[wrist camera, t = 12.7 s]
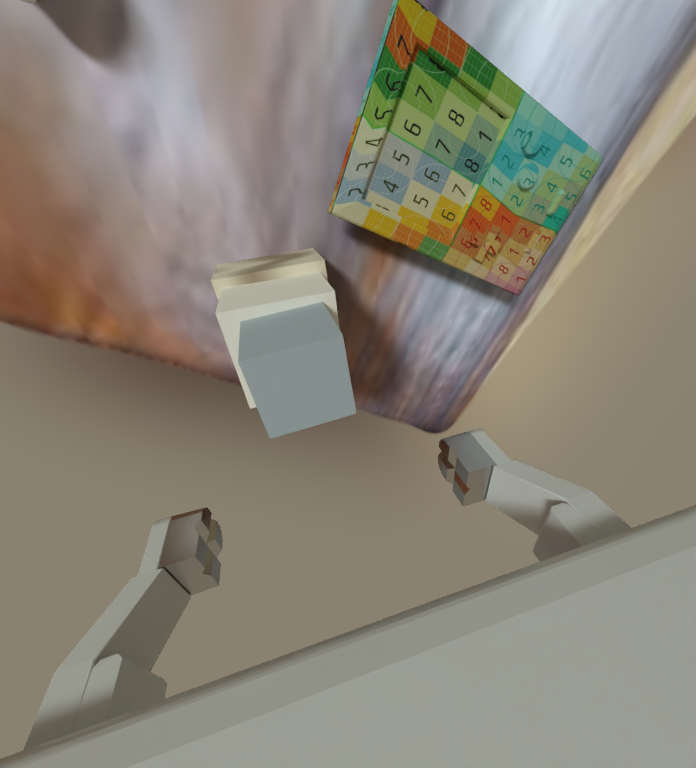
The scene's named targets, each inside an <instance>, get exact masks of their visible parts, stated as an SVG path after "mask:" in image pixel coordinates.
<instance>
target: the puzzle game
mask: <svg viewBox="0 0 696 768" xmlns="http://www.w3.org/2000/svg"><path fill="white" fill-rule="evenodd" d="M603 160H604V159H603V158H602V156H601V155H600V154H599V153H598V152H596V151H595V150H594V149H593V148H592V147H590V146H589V145H588V144H587V143H586V142H585V141H583V140H582V139H581V138H580V137H579V136H577V135H576V134H575V133H574V132H573V131H571V130H570V129H569V128H568V127H567V126H565V125H564V124H563V123H562V122H561V121H560V120H558V119H557V118H556V117H555V116H554V115H552V114H551V113H550V112H549V111H548V110H546V109H545V108H544V107H543V106H542V105H541V104H539V103H538V102H537V101H536V100H535V99H533V98H532V97H531V96H530V95H529V94H527V93H526V92H525V91H524V90H523V89H521V88H520V87H519V86H518V85H517V84H516V83H514V82H513V81H512V80H511V79H510V78H508V77H507V76H506V75H505V74H504V73H502V72H501V71H500V70H499V69H498V68H497V67H495V66H494V65H493V64H492V63H491V62H489V61H488V60H487V59H486V58H485V57H483V56H482V55H481V54H480V53H479V52H477V51H476V50H475V49H474V48H473V47H472V46H470V45H469V44H468V43H467V42H466V41H464V40H463V39H462V38H461V37H460V36H458V35H457V34H456V33H455V32H454V31H453V30H451V29H450V28H449V27H448V26H447V25H445V24H444V23H443V22H442V21H441V20H439V19H438V18H437V17H436V16H435V15H433V14H432V13H431V12H430V11H429V10H428V9H426V8H425V7H424V6H423V5H422V4H420V3H419V2H418V1H417V0H393V3H392V6H391V10H390V13H389V16H388V19H387V22H386V26H385V29H384V32H383V35H382V39H381V42H380V45H379V48H378V51H377V55H376V58H375V61H374V64H373V68H372V71H371V74H370V77H369V80H368V84H367V87H366V90H365V93H364V97H363V100H362V103H361V106H360V109H359V113H358V116H357V119H356V122H355V126H354V129H353V132H352V135H351V138H350V142H349V145H348V148H347V151H346V155H345V158H344V161H343V164H342V167H341V171H340V174H339V177H338V180H337V184H336V187H335V190H334V193H333V196H332V200H331V203H330V206H329V209H328V213H330V214H333V215H335V216H337V217H339V218H342V219H344V220H346V221H348V222H351V223H353V224H355V225H358V226H360V227H362V228H364V229H367V230H369V231H371V232H373V233H376V234H378V235H380V236H383V237H385V238H387V239H389V240H392V241H394V242H396V243H399V244H401V245H403V246H405V247H408V248H410V249H412V250H415V251H417V252H419V253H421V254H424V255H426V256H428V257H430V258H433V259H435V260H437V261H440V262H442V263H444V264H446V265H449V266H451V267H453V268H456V269H458V270H460V271H462V272H465V273H467V274H469V275H471V276H474V277H476V278H478V279H481V280H483V281H485V282H487V283H490V284H492V285H494V286H497V287H499V288H501V289H503V290H506V291H508V292H510V293H513V294H515V295H517V296H519V294H520V293H521V291H522V289H523V288H524V286H525V285H526V283H527V281H528V280H529V278H530V277H531V275H532V273H533V272H534V270H535V269H536V267H537V265H538V264H539V262H540V261H541V259H542V257H543V256H544V254H545V253H546V251H547V249H548V248H549V246H550V245H551V243H552V241H553V240H554V238H555V237H556V235H557V233H558V232H559V230H560V229H561V227H562V225H563V224H564V222H565V221H566V219H567V217H568V216H569V214H570V213H571V211H572V209H573V208H574V206H575V205H576V203H577V201H578V200H579V198H580V196H581V195H582V193H583V192H584V190H585V188H586V187H587V185H588V184H589V182H590V180H591V179H592V177H593V176H594V174H595V172H596V171H597V169H598V168H599V166H600V164H601V163H602V161H603Z"/></svg>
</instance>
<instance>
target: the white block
mask: <svg viewBox="0 0 696 768" xmlns="http://www.w3.org/2000/svg"><path fill="white" fill-rule="evenodd" d="M320 302H323V303H324V305H325V307H326V308H327V310H328V311H329V313H330V315H331V316H332V318H333V320H334V321H335V323H336V325H337V326H338V328H339V320H338V312H337V304H336V296H335V291H334V289H333V288H332V287H331V286H330V284H329V283H328V282H327V280H326V279H325V278H324V277H323V275H322V274H321V273H320V272H314V273H308V274H302V275H297V276H291V277H285V278H280V279H274V280H268V281H263V282H257V283H251V284H246V285H240V286H234V287H228V288H223V289H221V293H220V297H219V302H218V306H217V310H216V316H217V319H218V321H219V324H220V327H221V330H222V332H223V335H224V338H225V341H226V343H227V346H228V349H229V352H230V354H231V357H232V360H233V363H234V365H235V368H236V371H237V374H238V376H239V379H240V382H241V385H242V387H243V390H244V393H245V396H246V398H247V401H248V404H249V407H250V408H255V407H256V404H255V402H254V399H253V397H252V394H251V392H250V390H249V387H248V385H247V382H246V380H245V378H244V375H243V373H242V370H241V368H240V366H239V363H238V354H239V336H240V321H244V320H249V319H253V318H257V317H261V316H265V315H270V314H274V313H278V312H282V311H286V310H290V309H295V308H299V307H303V306H307V305H311V304H315V303H320ZM339 330H340V328H339Z"/></svg>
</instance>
